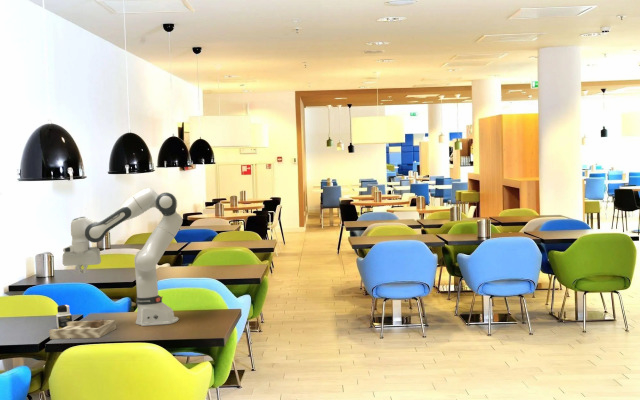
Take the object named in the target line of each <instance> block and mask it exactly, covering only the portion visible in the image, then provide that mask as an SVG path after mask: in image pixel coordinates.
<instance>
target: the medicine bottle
mask: <svg viewBox="0 0 640 400" xmlns="http://www.w3.org/2000/svg"><path fill="white" fill-rule="evenodd" d="M56 309H57V313H56V315H55V320H56V328H57V329H62V328H64V327H66V326H67V322H71V321H73V316H72V314H71V312H70V305H68V304H61V305H57V308H56Z"/></svg>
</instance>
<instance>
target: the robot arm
mask: <svg viewBox="0 0 640 400" xmlns="http://www.w3.org/2000/svg"><path fill="white" fill-rule="evenodd" d="M177 207H178V200H177V197H175V195H174V194H173V193H170V192H162V193H160V194H158V193H157V191H156V190H155V189H153V188H152V187H146V188H144V189H141V190H140V191H138V192H136V193H134V194H133V195H131V196H129V197H128V198H127V199H126V200H124V201H123V203H122V204H121V205H120V206H119V207H118V209H117V210H116V211H115V212H114V213H112V214H110V215H109V216H107V217H106V218H105V219H102V220H101V221H95V220H91V219H90V218H88V217H86V216H80V217H76V218H74V219H72V221H71V223H70V235H71V245H69V246H67V247H64V248H63V249H62V251H63V253H62V264H63V266H64V267H68V266H69V267H70V266H71V267H73V266H76V268H77V270H78V273H79V274H80V275H82V274H87V269H88V266H92V265H93V266H94V265H100V264H101V262H102V257H101V250H100V248H99V247H97V246H90V242H91V243H99V242H101V241H103V239H104V238H105V236H106V235H107V233H108V232H110V231H111V230H113V229H114V228H116V227H117V226H119V225H120V224H121V223H123V222H126V221H129V220H132V219H134V218H137V217H139V216H141V215H142V214H144V213H146V212H147V211H149V210H150V209H152V208H156V209H157V211H159V212H160V213H161V214H162V217H161V220H160V221H159V222H158V224H157V225H156V227H155V229H154V230H153V231H152V232H151V234H150V235H149V237H148V238H147V240H146V241H145V243H144V245H143V247H142V248H141V250H138V251H137V252H136V254H135V256H134V258H133V259H134V261H133V262H134V270H135V271H134V272H135V283H136V285H135V286H136V307H137V313H136V314H137V315H136V321H135V324H136V325H140V327H141V326H142V327H145V326H147V327H148V326H161V325H171V324H174V323H176V322H178V321H179V319H180V318H179V317H178V316H175V313H174V310H173V308H171V306H168V305H167V304H166V303H164V302H163V296H160V295H159V289H158V287H159V285H158V275H157V264H158V263H159V262H160V260H161V259H162V257H163V255H164V253H165V252H166V250H167V248H168V247H169V246H170V244H171V243H172V241H173V240H174V239H175V237H176V236H177V234H178V232H179V230H180V228H181V226H182V224H183V220H184V219H183V217H182V216H181V214H179V213H178V212H177ZM82 266H83V269H82Z"/></svg>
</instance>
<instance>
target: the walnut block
mask: <svg viewBox="0 0 640 400" xmlns="http://www.w3.org/2000/svg"><path fill="white" fill-rule="evenodd" d="M90 321H91V322H90V328H98V327H100V326H102V325H104V321H105V320H104V319H94V320H90Z"/></svg>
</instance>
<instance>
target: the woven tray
mask: <svg viewBox="0 0 640 400" xmlns="http://www.w3.org/2000/svg"><path fill="white" fill-rule="evenodd" d="M91 321H92V320H75V321H73V320H72V321H71V322H67V326H66V327H64V328H62V329H58V328H57V329H52V328H51V329H49V331H48V332H49V339H50V340H59V339H60V340H65V339H68V340H70V338H71V339H97V338H98V339H99V338H101V337H104V336H105V335H107V334H109V333H111V332H113V331H114V330H116V329H117V326H116V325H117V324H116V320H115V319H113V320H111V319H109V320H108V319H107V320H104V325H102V326H100V327H98V328H90V322H91Z"/></svg>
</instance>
